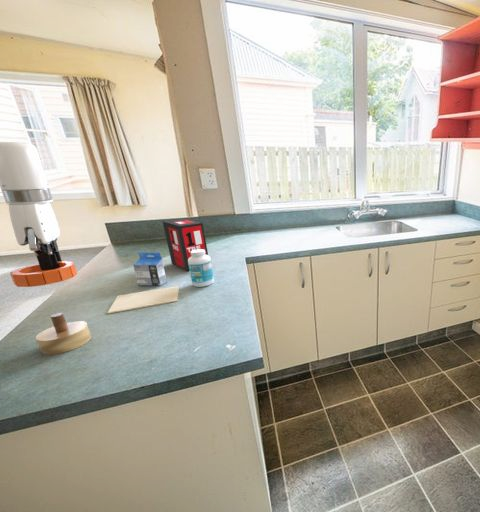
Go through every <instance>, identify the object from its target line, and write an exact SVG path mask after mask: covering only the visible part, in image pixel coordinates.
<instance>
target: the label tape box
mask: <svg viewBox="0 0 480 512" xmlns="http://www.w3.org/2000/svg"><path fill="white" fill-rule="evenodd" d="M137 254H138V256H139V259H138V260H137V261H136V262H134V264H133V269H134V273H135V278H136V282H137V286H163V285H165V284H167V283H168V280H167V276H166V272H165V265H164V262H163V257H162V254H161V252H148V251H147V252H143V251H142V252H141V251H139V252H138V253H137Z"/></svg>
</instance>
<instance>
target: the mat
mask: <svg viewBox="0 0 480 512" xmlns="http://www.w3.org/2000/svg"><path fill="white" fill-rule="evenodd" d="M179 291H180V285H175V286H169V287H163V288H157V289H150V290H144V291H138V292H137V291H136V292H132V293H131V292H130V293H125V294H119V295H117V296H116V298H115V300H114V301H113V302H112V303H111V306H110V307H109V309H108V311H107V312H106V314H107V315H111V314H116V313H122V312H127V311H132V310H137V309H143V308H148V307H155V306H159V305H167V304H171V303H176V302H177V301H178V297H179V293H180V292H179Z"/></svg>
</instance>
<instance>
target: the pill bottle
mask: <svg viewBox="0 0 480 512" xmlns="http://www.w3.org/2000/svg"><path fill="white" fill-rule="evenodd" d="M188 265H189V270H190V272H189V274H190V280H191V284H192V286H194V287H197V288H200V287H201V288H203V287H207V286H211V285H212V284H214V282H215V277H214V271H213V265H212V259H211V256H210V255H209V254H208V255H205V250H204V249H196V250H192V251H191V257H190V258H189V259H188Z"/></svg>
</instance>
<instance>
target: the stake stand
mask: <svg viewBox="0 0 480 512" xmlns="http://www.w3.org/2000/svg"><path fill="white" fill-rule="evenodd" d="M50 319H51V322H52V325H53V326H51V327H49V328H46V329H43V330H42V331H40V332H39V333H38V334H36V336H35V341H36V343H37V345H38V347H39V348H38V349H39V350H40V352H41V354H43V355H47V356H50V355H51V356H52V355H59V354H63V353H67V352H69V351H73V350H76V349H78V348H80V347H82V346H84V345H86V344H87V343H89V342H90V341H91V339H92V334H91V331H90V327H89V325H88V323H87V322H86V321H82V320H78V321H76V320H75V321H69V322H67V320H66V317H65V315H64V313H63V312H57V313H54V314H51V315H50Z"/></svg>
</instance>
